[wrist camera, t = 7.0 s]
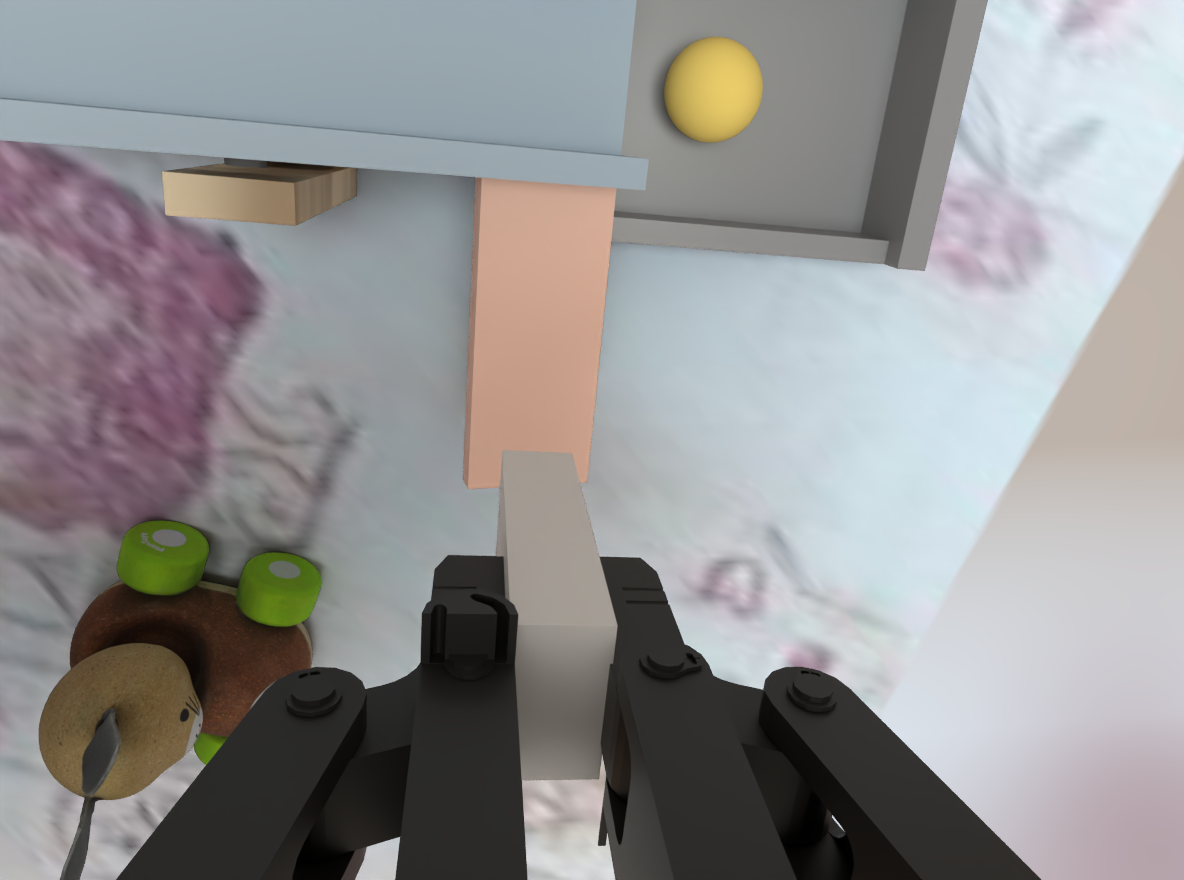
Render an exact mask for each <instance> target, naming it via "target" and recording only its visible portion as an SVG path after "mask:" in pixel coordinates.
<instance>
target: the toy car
mask: <svg viewBox="0 0 1184 880" xmlns="http://www.w3.org/2000/svg"><path fill="white" fill-rule="evenodd" d="M208 553H209V545H208V542H207V540H206V539H205V537H204V536H203V535H202V534H201V533H200V532H198V531H197V530H195V529H194V528H192V527H190V526H188V525H186V524H183V523H179V522H172V521H162V520H160V521H147V522H144V523H141V524H138V525H136V526H134V527H132V528H131V529H130V530H129V531H128V532H127V533H126V534H125V536H124V538H123V541H122V545H121V549H120V553H119V558H118V562H117V573H118V576H119V577H120V579H121V580H122V581H120V582H118V583H116V584H114V585H112V586H110V587H109V588H107V589H106V590H104V591H103V592H102V593H101V594H100V595H99V596H98V597H97V598H96V599H95V600H94V601H93V602H92V603H91V604H90V606H89V607H88V608H87V610H86V611H85V613H84V614H83V616H82V617H81V619H80V621H79V623H78V625H77V627H76V629H75V632H74V635H73V638H72V642H71V649H70V666H71V670H70V671H69V672H68V673H67V674H66V675H65V676H64V677H63V678H62V679H61V680H60V681H59V682H58V684H57V685H56V686H55V688H54V689H53V691H52V692H51V694H50V695H49V697H48V700H47V702H46V704H45V706H44V709H43V712H42V715H41V719H40V724H39V745H40V751H41V754H42V757H43V760H44V762H45V764H46V766H47V768H48V770H49V771H50V773H51V774H52V775H53V777H54V778H55V779H56V780H57V781H58V782H59V783H60V784H61V785H63V786H64V787H65V788H67V789H68V790H69V791H71V792H73V793H75V794H77V795H79V796H82V797H84V798H85V800H84V804H83V808H82V813H81V815H80V823H79V826H78V829H77V833H76V835H75V838H74V841H73V844H72V847H71V849H70V852H69V855H68V858H67V860H66V862H65V865H64V867H63V870H62V874H61V878H60V880H80V876H81V873H82V870H83V867H84V864H85V860H86V855H87V850H88V843H89V835H90V825H91V817H92V814H93V812H94V806H95V802H96V801H98V800H116V799H121V798H125V797H128V796H131V795H134V794H136V793H137V792H139V791H141V790H143V789H144V788H146V787H147V786H148V785H150V784H151V783H152V782H153V781H154V780H155V779H156V778H157V777H158V776H159V775H160V774H161V773H163V772H164V771H165V770H166V769H168V768H169V767H170V766H172V765H173V764H174V763H176V762H177V761H179V760H180V759H181V758H183V757H184V756H185V755H186V754H187V753H188V752H189V751H190V750H191V748H192V747H193V745H194V750H195V753H196V754H197V756H198V758H199V759H200V760H201V761H202V762H203V763H204V764H206V765H207V764H208V762H209V761H210V760H211V759H212V757H213V756H214V755H215V753H216V752H217V751H218V750H219V748H220V747H221V746H222V745H223V743H224V742H225V741H226V739H227V738H228V737H229V736H230V734H231V733H232V732H233V731H234V729H235V728H236V727H237V726H238V724H239V723H240V722H241V720H242V719H243V718H244V717H245V715H246V714H247V713H248V712H249V710H250V709H251V708H252V706H253V705H254V704H255V703H256V701H257V700H258V699H259V698H260V696H261V695H262V694H263V692H264V691H265V690H266V689H267V688H268V687H270V686H271V685H272V684H273V683H274V682H275V681H277V680H278V679H280V678H282V677H284V676H286V675H288V674H291V673H293V672H295V671H299V670H304V669H309V668H311V664H312V646H311V641H310V638H309V635H308V633H307V630H306V628H305V627H304V625H303V623H302V622H303V621H305V620H306V619H307V618H308V617H309V616H310V615H311V613H312V611H313V609H314V606H315V603H316V600H317V597H318V594H319V591H320V588H321V577H320V574H319V572H318V570H317V569H316V568H315V567H314V566H313V565H312V564H311V563H309V562H308V561H307V560H305V559H303V558H301V557H299V556H296V555H292V554H288V553H277V552H272V553H263V554H260V555H257V556H255V557H253V558H252V559H250V560H249V561H248V562H247V563H246V565H245V566H244V569H243V572H242V575H241V578H240V582H239V585H238V589H237V588H234V587H229V586H225V585H220V584H216V583H211V582H205V581H200V579H201V577H202V575H203V571H204V568H205V564H206V561H207V557H208Z"/></svg>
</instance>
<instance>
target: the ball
mask: <svg viewBox="0 0 1184 880" xmlns="http://www.w3.org/2000/svg"><path fill="white" fill-rule="evenodd" d="M762 93H763V80H762V75H761V71H760V68H759V65H758V63H757V61H756V59H755V58H754V56H753V55H752V54H751V52H750V51H749V50H748V49H747V48H746V47H744V46H743V45H742V44H740V43H738V42H737V41H735V40H732V39H729V38H725V37H708V38H704V39H700V40H698V41H696V42H694V43H692V44H690V45H689V46H687V47H686V48H685V49H684V50H683V51H682V52H681V53H680V54H679V55H678V56H677V57H676V58H675V60H674V61H673V63H672V65H671V66H670V69H669V71H668V74H667V77H666V81H665V87H664V98H665V104H666V108H667V111H668V114H669V116H670V118H671V120H672V121H673V123H674V124H675V126H676V127H677V128H678V129H679V130H680V131H681V132H682V133H684V134H685V135H687V136H688V137H690V138H692V139H694V140H697V141H700V142H706V143H714V142H721V141H725V140H727V139H730V138H732V137H734V136H736V135H737V134H739V133H740V132H741V131H743V130H744V129H745V128H746V127H747V126H748V125H749V124H750V122H751V121H752V120H753V118H754V116H755V115H756V113H757V111H758V108H759V106H760V103H761V99H762Z"/></svg>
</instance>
